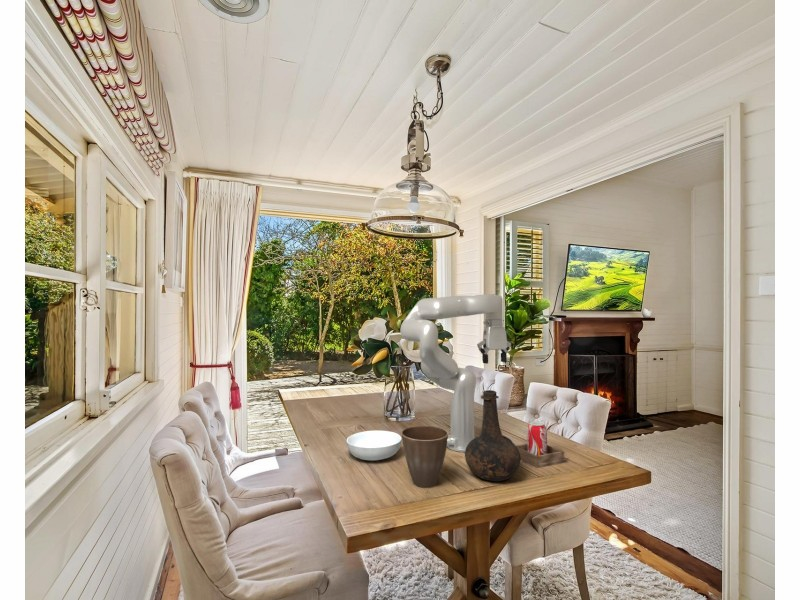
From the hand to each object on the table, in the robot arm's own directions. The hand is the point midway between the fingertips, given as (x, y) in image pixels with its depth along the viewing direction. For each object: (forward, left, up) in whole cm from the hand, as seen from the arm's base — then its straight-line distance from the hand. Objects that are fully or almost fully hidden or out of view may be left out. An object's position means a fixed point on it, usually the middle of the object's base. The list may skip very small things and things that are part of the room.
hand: (494, 362), depth 172 cm
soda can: (-1, -27, -32) cm, 41 cm away
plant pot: (-49, -29, -32) cm, 66 cm away
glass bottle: (-26, -33, -33) cm, 53 cm away
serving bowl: (-56, 0, -33) cm, 65 cm away
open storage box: (-1, -27, -32) cm, 42 cm away
